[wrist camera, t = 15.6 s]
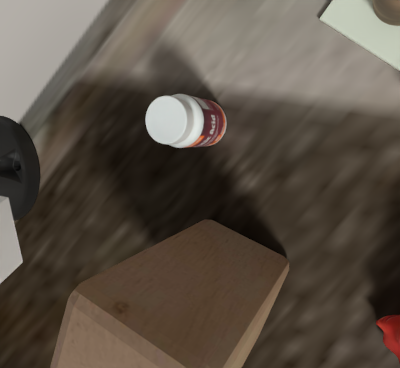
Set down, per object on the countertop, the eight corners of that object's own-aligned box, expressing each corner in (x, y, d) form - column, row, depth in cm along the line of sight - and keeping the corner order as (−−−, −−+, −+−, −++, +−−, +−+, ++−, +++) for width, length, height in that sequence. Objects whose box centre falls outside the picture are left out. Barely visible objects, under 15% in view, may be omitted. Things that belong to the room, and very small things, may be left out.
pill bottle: (213, 154, 37) (174, 159, 30) (178, 131, 38) (132, 130, 31) (236, 114, 36) (200, 108, 28) (199, 91, 37) (155, 80, 29)
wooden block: (207, 213, 38) (64, 282, 20) (295, 257, 35) (216, 388, 17) (179, 290, 41) (31, 411, 23) (257, 338, 38) (156, 524, 20)
